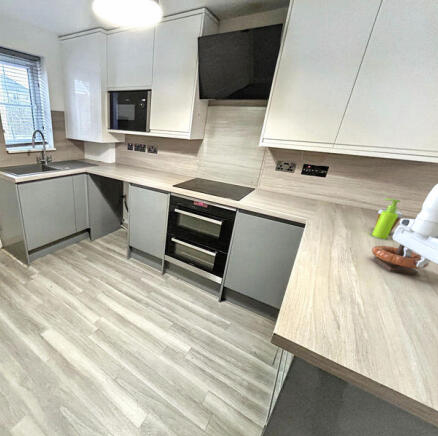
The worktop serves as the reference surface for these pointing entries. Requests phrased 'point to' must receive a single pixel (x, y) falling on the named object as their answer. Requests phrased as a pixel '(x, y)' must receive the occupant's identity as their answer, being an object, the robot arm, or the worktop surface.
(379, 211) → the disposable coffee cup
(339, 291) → the worktop surface
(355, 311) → the worktop surface
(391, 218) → the soap dispenser
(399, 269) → the stand
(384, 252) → the ring
